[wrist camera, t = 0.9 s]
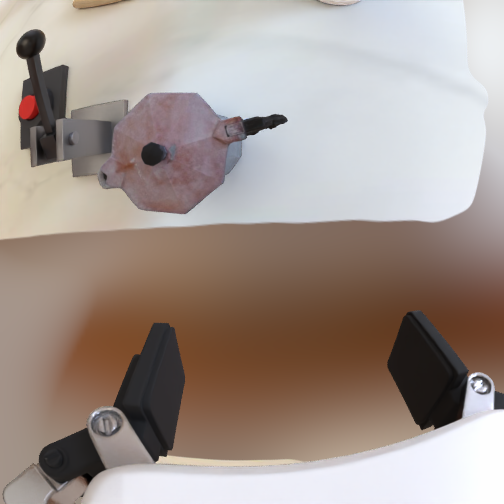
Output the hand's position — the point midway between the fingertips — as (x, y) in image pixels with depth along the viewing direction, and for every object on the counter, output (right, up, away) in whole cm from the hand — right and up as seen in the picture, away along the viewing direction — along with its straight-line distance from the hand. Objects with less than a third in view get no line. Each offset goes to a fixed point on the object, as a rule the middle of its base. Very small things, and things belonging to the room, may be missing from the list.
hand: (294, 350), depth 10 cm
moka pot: (-7, +18, +24) cm, 31 cm away
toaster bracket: (-23, +20, +22) cm, 38 cm away
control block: (-34, +26, +19) cm, 47 cm away
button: (-34, +25, +16) cm, 45 cm away
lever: (-22, +21, +9) cm, 32 cm away
